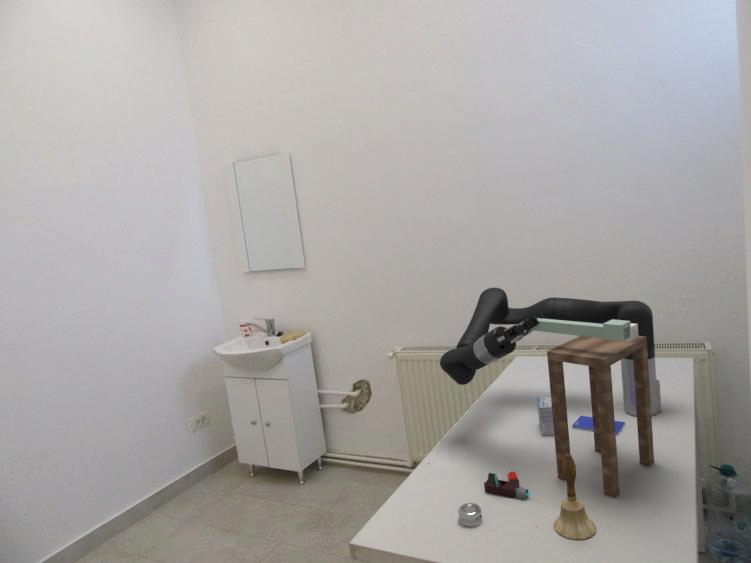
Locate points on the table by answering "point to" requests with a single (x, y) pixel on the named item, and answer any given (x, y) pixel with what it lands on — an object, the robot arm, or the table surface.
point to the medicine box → (545, 415)
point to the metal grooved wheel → (470, 515)
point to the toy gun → (505, 486)
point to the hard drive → (587, 424)
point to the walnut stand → (601, 400)
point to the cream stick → (633, 333)
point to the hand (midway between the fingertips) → (539, 318)
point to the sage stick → (587, 328)
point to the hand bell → (573, 509)
